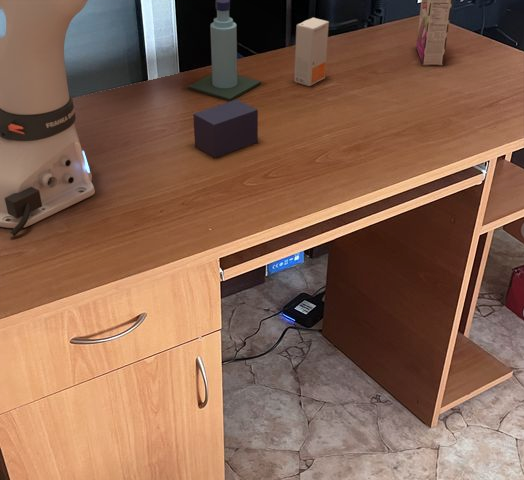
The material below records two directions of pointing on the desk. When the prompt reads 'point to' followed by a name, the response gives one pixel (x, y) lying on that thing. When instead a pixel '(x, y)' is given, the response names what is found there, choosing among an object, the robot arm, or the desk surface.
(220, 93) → the rubber mat
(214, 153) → the navy block
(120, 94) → the desk surface
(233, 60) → the plastic bottle
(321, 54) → the cosmetic box
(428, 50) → the candy bar box
